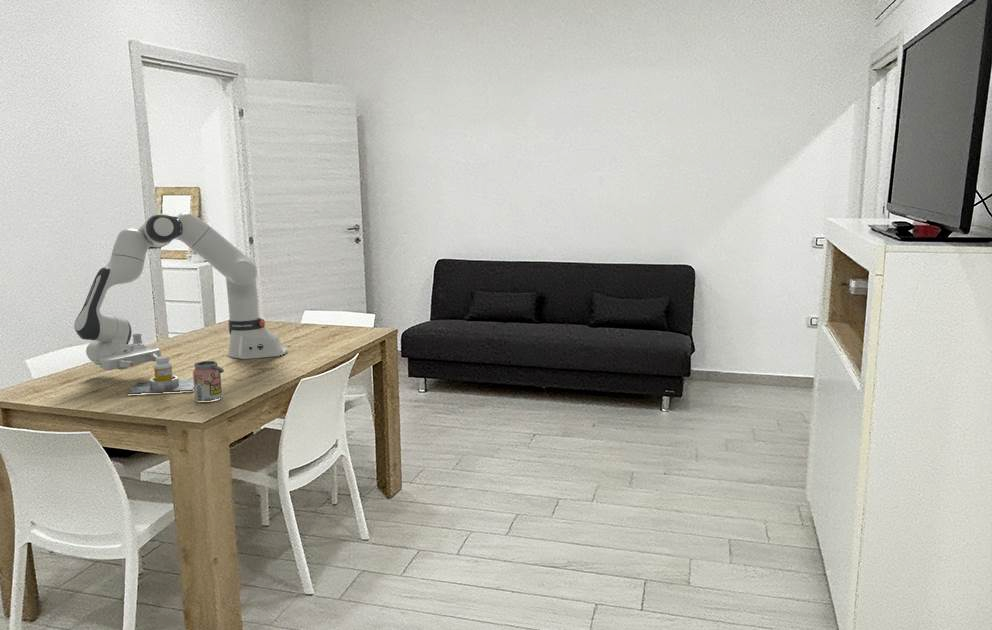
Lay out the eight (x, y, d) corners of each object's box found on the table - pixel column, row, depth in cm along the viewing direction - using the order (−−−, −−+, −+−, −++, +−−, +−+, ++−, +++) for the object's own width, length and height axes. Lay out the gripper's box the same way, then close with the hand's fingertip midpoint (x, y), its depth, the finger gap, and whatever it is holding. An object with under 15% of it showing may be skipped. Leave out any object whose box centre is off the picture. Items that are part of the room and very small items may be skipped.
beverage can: (210, 394, 257) (207, 358, 255) (230, 397, 254) (228, 360, 251) (189, 402, 248) (186, 365, 246) (210, 405, 245) (207, 367, 243)
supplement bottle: (159, 383, 267) (156, 355, 265) (175, 383, 267) (173, 355, 265) (153, 388, 261) (151, 359, 260) (170, 387, 262) (167, 359, 260)
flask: (141, 362, 302) (139, 336, 300) (124, 361, 303) (122, 335, 302) (153, 357, 309) (151, 332, 307) (136, 357, 310) (134, 332, 309)
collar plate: (199, 381, 273) (199, 371, 272) (192, 392, 259) (191, 382, 259) (138, 384, 269) (137, 374, 269) (127, 396, 256) (126, 385, 255)
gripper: (90, 353, 267) (114, 358, 259) (145, 342, 283) (169, 346, 276) (92, 371, 268) (116, 377, 260) (147, 359, 285) (171, 364, 277)
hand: (144, 361), depth 268 cm, fingers open, 8 cm apart
